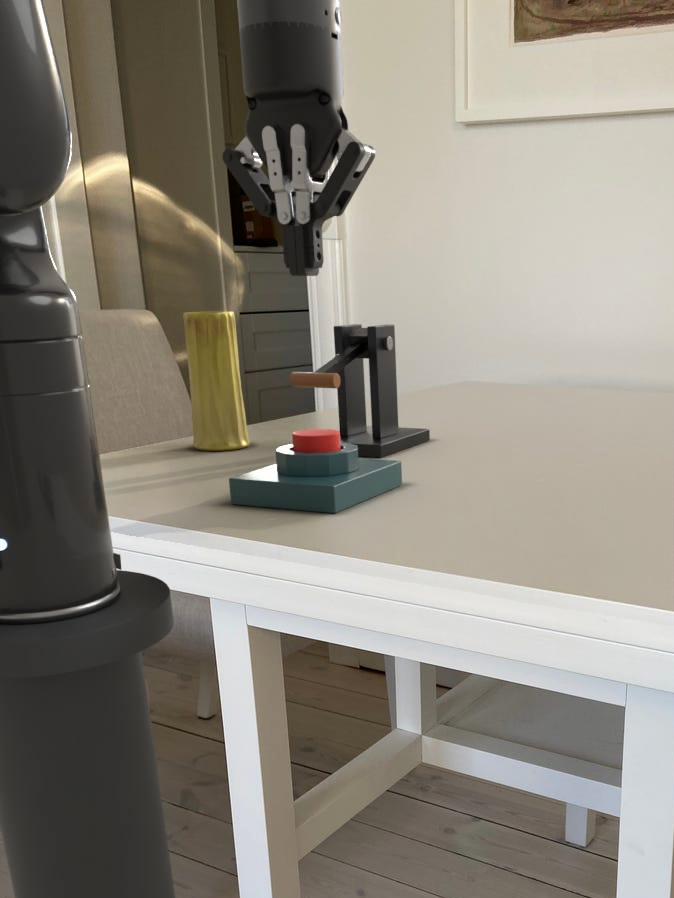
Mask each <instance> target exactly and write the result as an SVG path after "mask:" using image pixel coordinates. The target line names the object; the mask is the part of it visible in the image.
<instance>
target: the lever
mask: <svg viewBox="0 0 674 898" xmlns="http://www.w3.org/2000/svg"><path fill="white" fill-rule="evenodd" d="M348 337H349V343H350V346H349V347H348V348H346V349H345V350H344V351H342V352H341V353H339V354H338V355H337V356H335V355H334V357H332V358H331V359H330V360H328V361H327V362H325V363H324V364H323V365H321V366H319V367H318V368H317V369H316V370H314V371H313V372H310V371H309V372H308V371H304V372H303V371H292V372H291V373H290V374H289V384H290V386H291V387H293V388H308V389H309V388H312V389H337V388H338V387H339V386H340V376H339V374H337V372H338V371H340V370H341V369H342V368H344V367H345V366H346V365H348V364H349V363H350V362H352V361H353V360H354V359H356V358H363V359H368V360H369V354H368V333H367V327H362V328H359V329H358V330H356V331H355V332H353V333H352V334H351V335H349V336H348Z"/></svg>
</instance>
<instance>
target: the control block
mask: <svg viewBox="0 0 674 898" xmlns="http://www.w3.org/2000/svg"><path fill="white" fill-rule="evenodd" d="M340 446H341V450H338V451H331V452H321V453H303V452H294V451H293V443H290V444H289V443H288V444H285V445H282V446H279V447H277V448H276V449H275V463H273V464H271V465H268V466H265V467H261V468H258V469H255V470H252V471H249V472H245V473H242V474H238V475H235V476H233V477H229V478H228V482H229V484H228V485H229V495H230V503H231V505H236V506H246V507H247V506H249V507H259V508H260V507H261V508H270V509H271V508H272V509H280V510H281V509H283V510H294V511H306V512H316V513H327V514H337V513H340V512H342V511H344V510H346V509H348V508H351V507H353V506H355V505H357V504H360V503H363V502H365V501H367V500H369V499H372V498H375V497H377V496H379V495H381V494H384V493H386V492H389V491H392V490H393V489H395V488H396V489H397V488H398V487H401V486H403V474H402V473H403V472H402V471H403V469H402V468H403V467H402V461H401V460H395V459H394V460H393V459H381V458H380V459H378V458H377V459H376V458H365V457H364V458H363V457H359V456H358V447H357V445H354V444H350V443H344V442H340Z"/></svg>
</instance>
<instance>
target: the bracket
mask: <svg viewBox="0 0 674 898" xmlns="http://www.w3.org/2000/svg"><path fill="white" fill-rule="evenodd" d="M359 328H363V327H362V324H361V323H352V324H342V325H334V326H333V338H334V339H333V342H334V357H335V356H337V355H338V354H339V353H341V352H342V351H344V350H345V349H346V348H348V347H349V346H350V343H349V337H348V336H349V335H351V334H352V333H353V332H355V331H356V330H358V329H359ZM366 328H367V333H368V354H369V359H368V372H369V373H368V374H369V393H370V395H369V396H370V417H371V425H367V424H368V423H367V408H366V407H367V406H366V386H365V368H364V366H365V365H364V364H365V363H364V358H356V359H354V360H353V361H352V362H350V363H349V364H348V365H346V366H345V367H344V368H342V369H341V370H340V371H338V372H337V374H339V376H340V386H339V387H338V388H336V390H337V391H336V392H337V407H338V408H337V409H338V420H339V421H338V426H339V430H338V431H339V432H340V442H344V443H350V444H354V445H357V447H358V457H361V458H363V457H364V458H377V459H378V458H380V459H381V458H384V457H387V456H389V455H392V454H395V453H398V452H401V451H403V450H406V449H410V448H412V447H415V446H418V445H420V444H423V443H426V442H429V441H430V440H431V438H430V437H431V435H430V428H419V427H418V428H417V427H399V408H398V407H399V405H398V382H397V380H398V378H397V357H396V353H397V352H396V332H395V331H396V330H395V324H379V325H378V324H377V325H370V326H367V327H366Z"/></svg>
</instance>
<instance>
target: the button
mask: <svg viewBox="0 0 674 898" xmlns="http://www.w3.org/2000/svg"><path fill="white" fill-rule="evenodd" d="M339 431H340V430H337V429H330V428H310V429H302V430H297V431H294V432H292V433H291V437H292V444H293V451H294V452H303V453H321V452H331V451H338V450H341V446H340V432H339Z"/></svg>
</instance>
